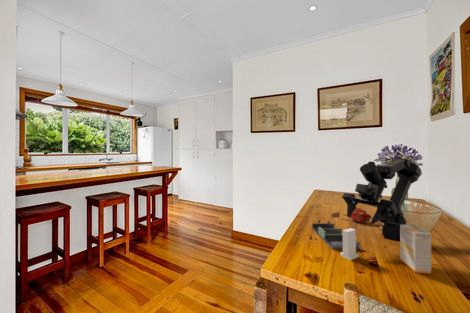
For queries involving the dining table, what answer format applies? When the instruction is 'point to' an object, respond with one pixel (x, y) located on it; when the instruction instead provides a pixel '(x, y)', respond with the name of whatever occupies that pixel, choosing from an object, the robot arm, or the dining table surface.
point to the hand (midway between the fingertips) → (359, 219)
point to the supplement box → (415, 248)
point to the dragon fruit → (360, 215)
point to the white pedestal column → (349, 244)
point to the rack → (331, 235)
